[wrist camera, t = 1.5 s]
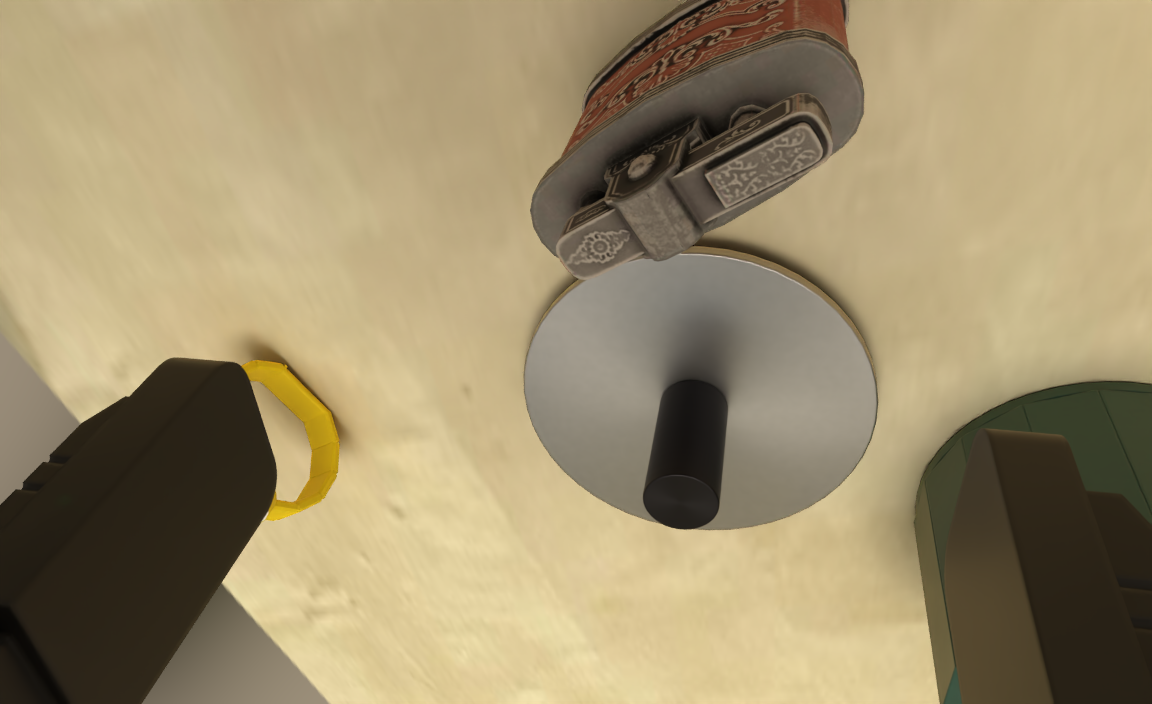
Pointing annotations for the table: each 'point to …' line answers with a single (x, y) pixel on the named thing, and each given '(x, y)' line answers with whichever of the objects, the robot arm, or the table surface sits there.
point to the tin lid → (701, 389)
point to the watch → (316, 427)
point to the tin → (1101, 451)
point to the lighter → (698, 128)
